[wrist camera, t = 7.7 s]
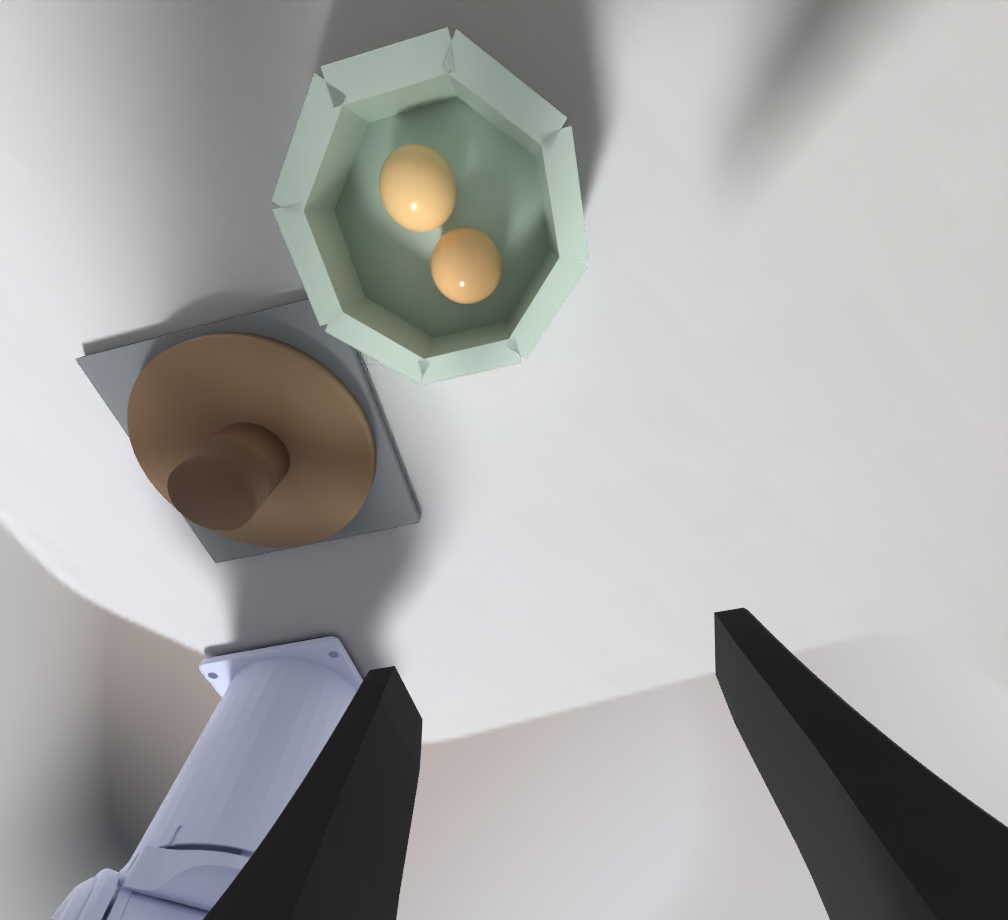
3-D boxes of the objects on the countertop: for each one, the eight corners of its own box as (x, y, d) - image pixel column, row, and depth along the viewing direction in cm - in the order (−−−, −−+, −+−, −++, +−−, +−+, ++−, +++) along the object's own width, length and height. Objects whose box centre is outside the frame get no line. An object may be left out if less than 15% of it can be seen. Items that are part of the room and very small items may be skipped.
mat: (420, 517, 21) (419, 522, 21) (219, 557, 22) (215, 563, 22) (332, 292, 16) (329, 294, 16) (83, 356, 17) (75, 359, 17)
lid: (398, 526, 21) (378, 587, 18) (200, 544, 21) (144, 607, 18) (342, 318, 16) (302, 346, 13) (95, 346, 17) (-5, 379, 14)
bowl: (583, 320, 17) (601, 344, 14) (376, 369, 18) (351, 402, 15) (542, 42, 13) (554, -6, 10) (282, 119, 14) (224, 95, 11)
